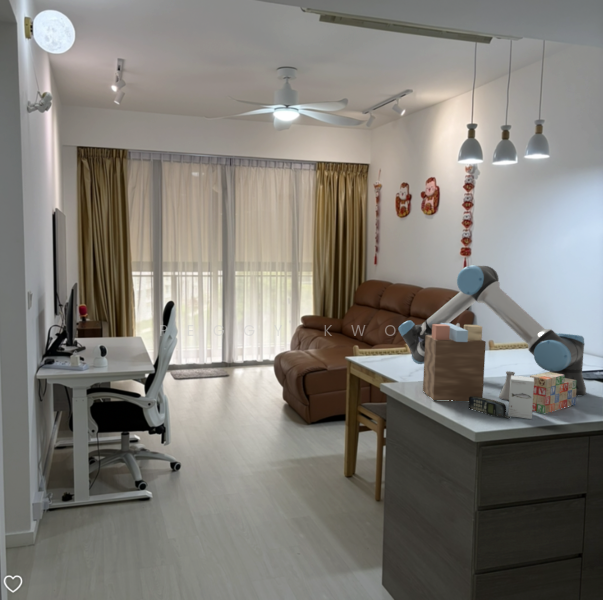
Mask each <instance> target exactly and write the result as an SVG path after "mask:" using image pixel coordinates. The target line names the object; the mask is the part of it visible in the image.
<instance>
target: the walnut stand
mask: <svg viewBox="0 0 603 600" xmlns="http://www.w3.org/2000/svg"><path fill="white" fill-rule="evenodd" d="M485 361H486V341H485V340H468V342H456V341H454V340H452V339H450V338H449V340H436V339H434V338H432V335H425V355H424V364H423V378H422V392H423V391H424V392H425V393H426V394H427V395H428V396H429V397H431V398H432V399H433V400H449V401H448V402H452V401H451V400H453V401H469V397H471V396H476V397H482V398H484V397H483V396H484V382H485V381H484V379H485ZM424 392H423V393H424ZM425 393H424V394H425ZM426 394H425V395H426ZM427 395H426V396H427ZM428 396H427V397H428ZM429 397H428V398H429Z"/></svg>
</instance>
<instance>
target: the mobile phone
mask: <svg viewBox="0 0 603 600" xmlns="http://www.w3.org/2000/svg"><path fill="white" fill-rule="evenodd" d="M469 408H470V409H469ZM468 409H469V410H471V409H473V410H472V411H474V410H476V411H475V412H478V411H480V412H479V413H481V412H483V413H482V414H485V413H486V414H485V415H488V414H489V416H491V415H492V417H496V418H497V417H499V418H500V417H502V418H506V419H511V416H508V415H507V405H506V404H505V403H503V402H501V401H498V400H494V399H490V398H486V397H483V398H482V397H476V396H471V397H469V402H468Z"/></svg>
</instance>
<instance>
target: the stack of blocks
mask: <svg viewBox="0 0 603 600" xmlns="http://www.w3.org/2000/svg"><path fill="white" fill-rule="evenodd" d="M529 377H532V378H534V391H533V405H532V412H534V411H536V412H535V413H538V412H540V414H542V413H547V414H549V413H548V412H551V413H553V412H552V411H554V412H556V411H555V410H558V409H560V410H562V409H561V408H564V407H566V408H569V407H568V406H570V407H572V406H571V405H574V406H576V399H577V396H576V381H577V380H573V379H567V378H565V375H563V374H558V373H552V372H549V371H546V372H541V373H538V374H532V375H530V376H529ZM564 409H565V408H564ZM558 411H559V410H558Z"/></svg>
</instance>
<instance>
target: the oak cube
mask: <svg viewBox="0 0 603 600" xmlns="http://www.w3.org/2000/svg"><path fill="white" fill-rule="evenodd" d="M463 329H465V330H467V331H468V340H482V338H483V337H482V336H483V326H482V325H478V324H464V325H463Z"/></svg>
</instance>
